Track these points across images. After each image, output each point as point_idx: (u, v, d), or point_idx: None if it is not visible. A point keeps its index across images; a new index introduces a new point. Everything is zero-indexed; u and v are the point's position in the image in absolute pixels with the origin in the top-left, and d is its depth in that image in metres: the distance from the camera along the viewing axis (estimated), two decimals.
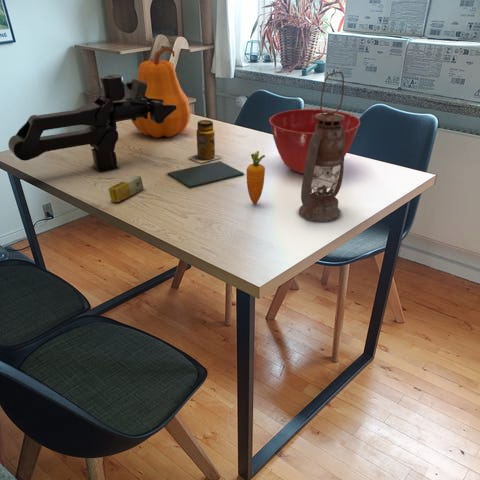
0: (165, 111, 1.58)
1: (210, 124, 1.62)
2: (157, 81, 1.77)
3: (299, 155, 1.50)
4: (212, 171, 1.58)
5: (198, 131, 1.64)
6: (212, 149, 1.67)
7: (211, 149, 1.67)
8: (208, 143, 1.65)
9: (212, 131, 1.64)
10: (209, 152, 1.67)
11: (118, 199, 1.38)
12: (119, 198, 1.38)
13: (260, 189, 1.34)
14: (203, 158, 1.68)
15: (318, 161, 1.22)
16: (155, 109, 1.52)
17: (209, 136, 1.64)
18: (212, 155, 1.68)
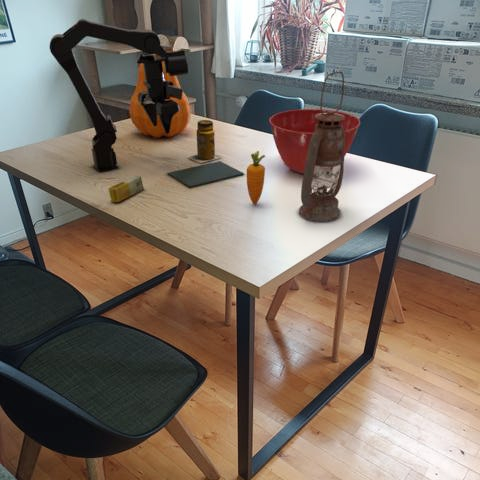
0: (165, 119, 1.53)
1: (210, 124, 1.62)
2: None
3: (299, 155, 1.50)
4: (212, 171, 1.58)
5: (198, 131, 1.64)
6: (212, 149, 1.67)
7: (211, 149, 1.67)
8: (208, 143, 1.65)
9: (212, 131, 1.64)
10: (209, 152, 1.67)
11: (118, 199, 1.38)
12: (119, 198, 1.38)
13: (260, 189, 1.34)
14: (203, 158, 1.68)
15: (318, 161, 1.22)
16: (173, 103, 1.48)
17: (209, 136, 1.64)
18: (212, 155, 1.68)
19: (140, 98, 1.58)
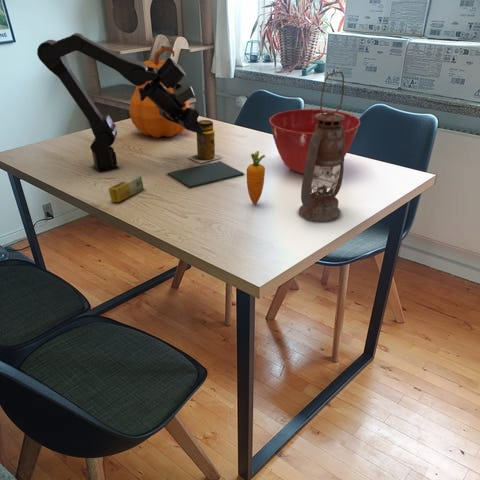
0: (193, 126, 1.56)
1: (210, 124, 1.62)
2: None
3: (299, 155, 1.50)
4: (212, 171, 1.58)
5: None
6: (212, 149, 1.67)
7: (211, 149, 1.67)
8: (208, 143, 1.65)
9: (212, 131, 1.64)
10: (209, 152, 1.67)
11: (118, 199, 1.38)
12: (119, 198, 1.38)
13: (260, 189, 1.34)
14: (203, 158, 1.68)
15: (318, 161, 1.22)
16: (191, 113, 1.49)
17: (209, 136, 1.64)
18: (212, 155, 1.68)
19: (163, 116, 1.61)
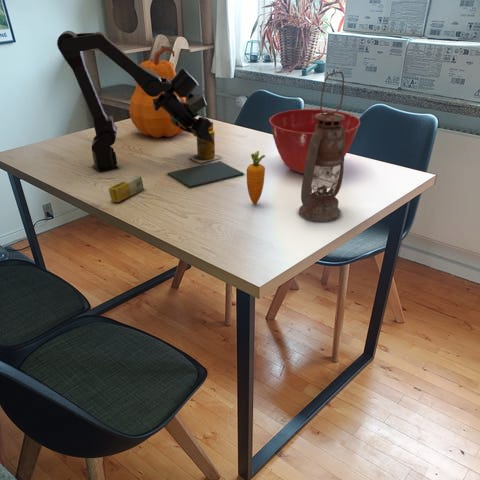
0: None
1: None
2: None
3: (299, 155, 1.50)
4: (212, 171, 1.58)
5: None
6: (212, 149, 1.67)
7: (211, 149, 1.67)
8: (208, 143, 1.65)
9: (212, 131, 1.64)
10: (209, 151, 1.67)
11: (118, 199, 1.38)
12: (119, 198, 1.38)
13: (260, 189, 1.34)
14: (203, 158, 1.68)
15: (318, 161, 1.22)
16: (204, 122, 1.53)
17: None
18: (212, 155, 1.68)
19: (175, 124, 1.65)
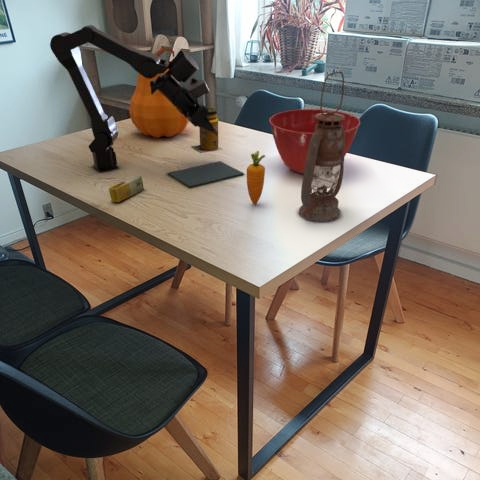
0: (202, 122, 1.51)
1: (212, 112, 1.52)
2: None
3: (299, 155, 1.50)
4: (212, 171, 1.58)
5: None
6: (214, 140, 1.57)
7: (213, 139, 1.56)
8: (210, 132, 1.55)
9: (215, 121, 1.54)
10: (211, 142, 1.57)
11: (118, 199, 1.38)
12: (119, 198, 1.38)
13: (260, 189, 1.34)
14: (204, 148, 1.58)
15: (318, 161, 1.22)
16: (199, 109, 1.44)
17: None
18: (214, 146, 1.58)
19: None
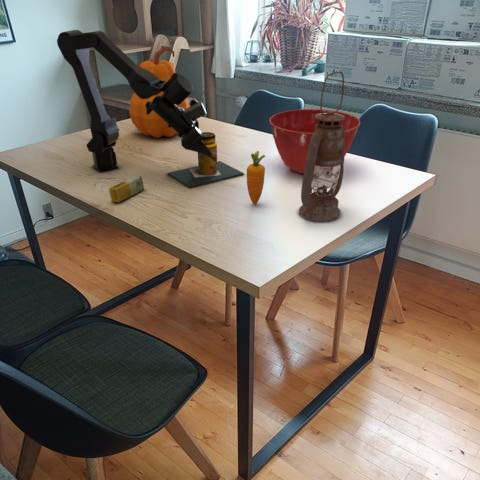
0: (198, 146, 1.46)
1: (209, 137, 1.48)
2: None
3: (299, 155, 1.50)
4: None
5: None
6: (211, 164, 1.53)
7: (210, 164, 1.53)
8: (206, 157, 1.51)
9: (211, 146, 1.50)
10: (207, 167, 1.53)
11: (118, 199, 1.38)
12: (119, 198, 1.38)
13: (260, 189, 1.34)
14: (201, 173, 1.55)
15: (318, 161, 1.22)
16: (190, 133, 1.40)
17: None
18: (211, 171, 1.54)
19: None
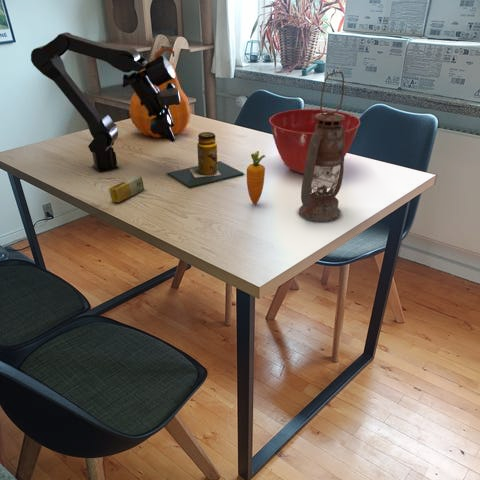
0: (164, 132, 1.52)
1: (209, 137, 1.48)
2: None
3: (299, 155, 1.50)
4: None
5: (198, 143, 1.51)
6: (211, 164, 1.53)
7: (210, 164, 1.53)
8: (206, 157, 1.51)
9: (211, 146, 1.50)
10: (207, 167, 1.53)
11: (118, 199, 1.38)
12: (120, 198, 1.38)
13: (260, 189, 1.34)
14: (201, 173, 1.55)
15: (318, 161, 1.22)
16: (161, 121, 1.45)
17: (207, 150, 1.50)
18: (211, 171, 1.54)
19: None
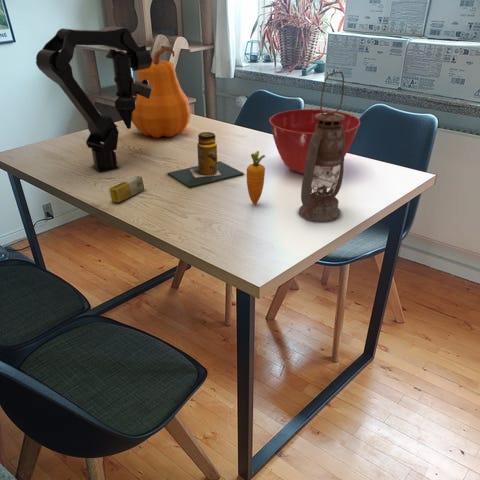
0: (125, 114, 1.56)
1: (209, 137, 1.48)
2: (157, 81, 1.77)
3: (299, 155, 1.50)
4: None
5: (198, 143, 1.51)
6: (211, 164, 1.53)
7: (210, 164, 1.53)
8: (206, 157, 1.51)
9: (211, 146, 1.50)
10: (207, 167, 1.53)
11: (119, 199, 1.38)
12: (120, 198, 1.38)
13: (260, 189, 1.34)
14: (201, 173, 1.55)
15: (318, 161, 1.22)
16: (128, 99, 1.51)
17: (207, 150, 1.50)
18: (211, 171, 1.54)
19: None
